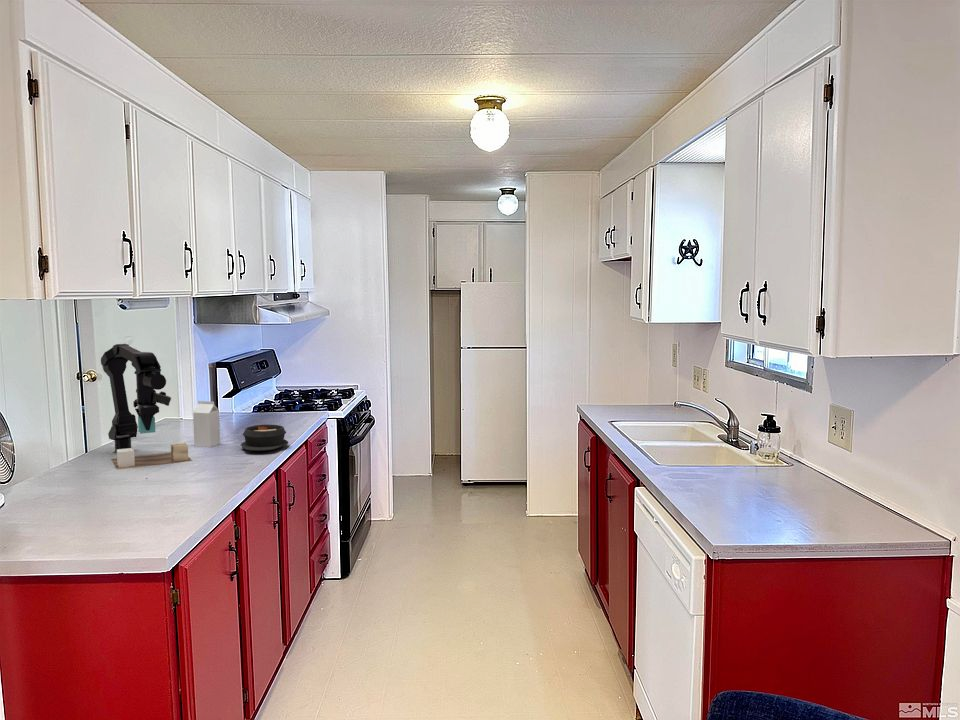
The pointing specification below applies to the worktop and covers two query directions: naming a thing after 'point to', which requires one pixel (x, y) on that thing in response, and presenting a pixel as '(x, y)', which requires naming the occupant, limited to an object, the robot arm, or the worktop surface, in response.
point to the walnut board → (150, 460)
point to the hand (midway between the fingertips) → (146, 429)
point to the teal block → (142, 428)
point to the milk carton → (206, 424)
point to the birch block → (179, 451)
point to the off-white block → (125, 457)
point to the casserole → (264, 437)
